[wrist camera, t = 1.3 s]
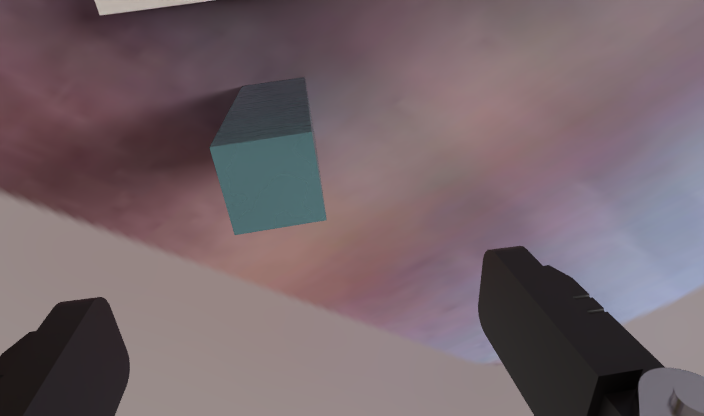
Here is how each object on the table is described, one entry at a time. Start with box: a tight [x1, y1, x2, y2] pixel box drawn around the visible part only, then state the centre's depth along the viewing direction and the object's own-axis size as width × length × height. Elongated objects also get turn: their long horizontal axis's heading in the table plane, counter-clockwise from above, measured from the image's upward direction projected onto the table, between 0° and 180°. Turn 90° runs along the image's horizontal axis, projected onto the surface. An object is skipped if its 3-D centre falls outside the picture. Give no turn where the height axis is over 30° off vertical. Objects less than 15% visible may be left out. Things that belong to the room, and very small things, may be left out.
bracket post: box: [209, 77, 326, 235], centre depth 23 cm, size 4×4×12 cm
